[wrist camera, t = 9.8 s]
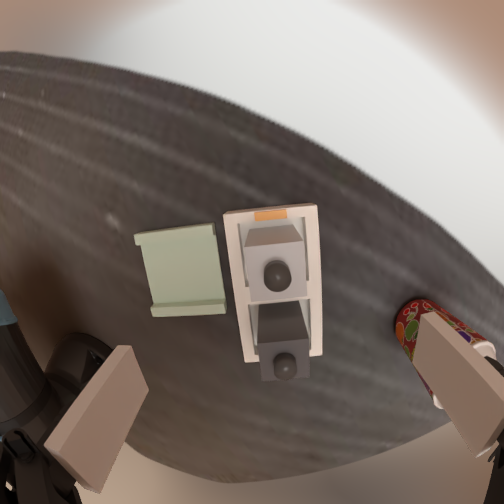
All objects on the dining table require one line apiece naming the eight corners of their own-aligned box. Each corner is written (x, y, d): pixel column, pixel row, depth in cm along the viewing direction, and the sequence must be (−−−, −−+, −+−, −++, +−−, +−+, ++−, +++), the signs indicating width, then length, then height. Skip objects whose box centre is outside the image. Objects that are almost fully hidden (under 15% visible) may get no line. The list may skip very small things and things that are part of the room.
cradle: (157, 311, 33) (152, 316, 31) (139, 232, 30) (134, 235, 29) (227, 307, 32) (225, 313, 30) (214, 222, 30) (211, 224, 28)
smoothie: (385, 299, 31) (475, 407, 12) (437, 282, 30) (539, 360, 11) (386, 351, 33) (449, 461, 14) (435, 333, 32) (511, 421, 13)
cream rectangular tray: (246, 348, 33) (240, 407, 23) (226, 211, 29) (207, 227, 19) (317, 341, 33) (334, 398, 23) (311, 202, 29) (336, 214, 18)
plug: (254, 270, 30) (250, 310, 21) (249, 229, 29) (242, 252, 19) (296, 266, 29) (310, 304, 20) (292, 224, 28) (306, 245, 19)
